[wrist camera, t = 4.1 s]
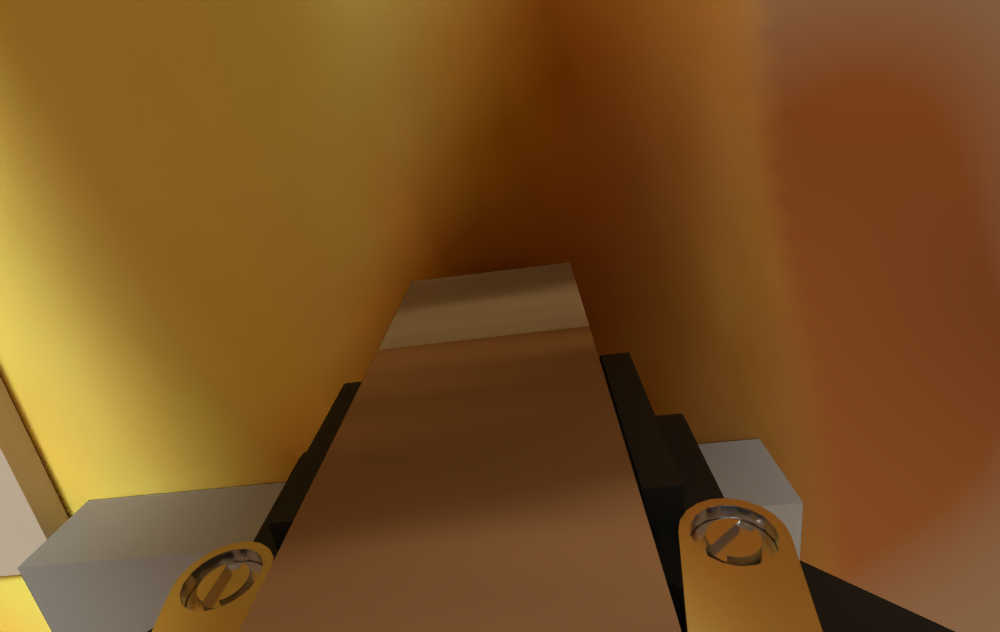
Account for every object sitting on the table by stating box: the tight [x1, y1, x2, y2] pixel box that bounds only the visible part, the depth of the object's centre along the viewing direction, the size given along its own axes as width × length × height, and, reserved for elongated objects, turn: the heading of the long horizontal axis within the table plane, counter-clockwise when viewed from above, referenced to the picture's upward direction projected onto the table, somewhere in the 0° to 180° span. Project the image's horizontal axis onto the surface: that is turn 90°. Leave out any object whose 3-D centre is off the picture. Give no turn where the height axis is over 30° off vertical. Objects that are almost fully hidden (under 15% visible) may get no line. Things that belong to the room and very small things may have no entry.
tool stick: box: [239, 262, 681, 632], centre depth 9 cm, size 4×4×14 cm
